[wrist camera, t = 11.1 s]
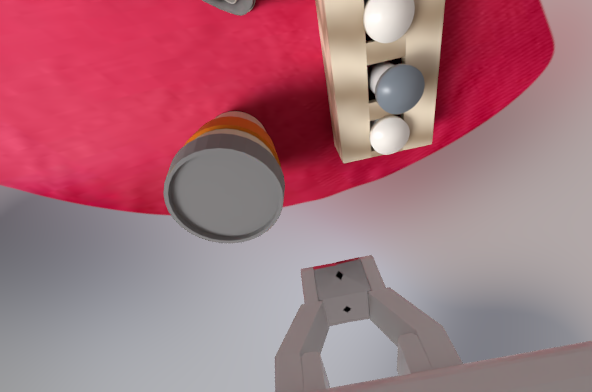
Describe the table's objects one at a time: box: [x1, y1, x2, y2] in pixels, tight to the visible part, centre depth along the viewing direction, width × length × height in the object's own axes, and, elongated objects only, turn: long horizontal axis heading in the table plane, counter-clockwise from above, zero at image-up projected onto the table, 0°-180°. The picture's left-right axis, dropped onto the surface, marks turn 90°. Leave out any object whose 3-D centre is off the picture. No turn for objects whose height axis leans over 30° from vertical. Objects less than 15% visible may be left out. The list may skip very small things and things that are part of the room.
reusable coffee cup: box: [164, 111, 285, 243], centre depth 35 cm, size 13×12×15 cm
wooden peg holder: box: [315, 0, 445, 163], centre depth 34 cm, size 19×12×6 cm, turn 12°
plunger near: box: [363, 0, 415, 43], centre depth 30 cm, size 5×5×7 cm
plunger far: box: [369, 115, 410, 155], centre depth 37 cm, size 5×5×7 cm
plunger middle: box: [367, 61, 425, 114], centre depth 31 cm, size 5×5×7 cm
